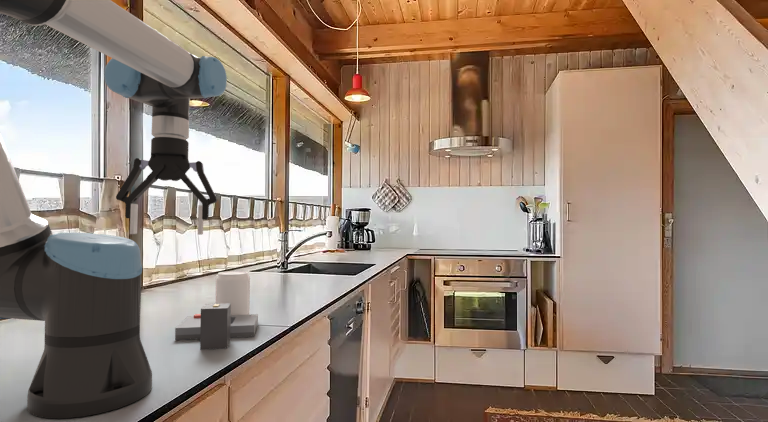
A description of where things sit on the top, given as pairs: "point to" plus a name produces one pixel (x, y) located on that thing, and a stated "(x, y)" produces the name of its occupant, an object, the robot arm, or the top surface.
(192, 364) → the top surface
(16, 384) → the top surface
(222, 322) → the dark grey upright block
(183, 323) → the socket faceplate
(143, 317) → the top surface
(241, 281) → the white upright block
